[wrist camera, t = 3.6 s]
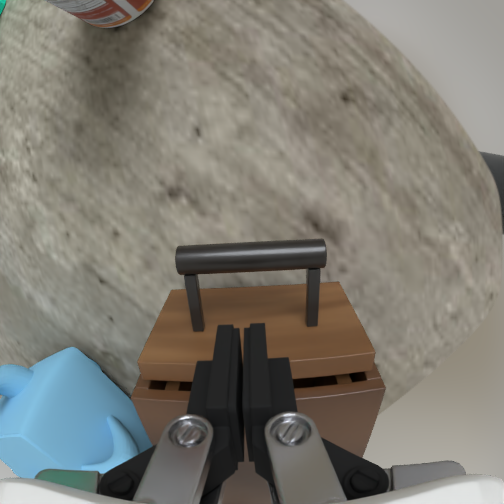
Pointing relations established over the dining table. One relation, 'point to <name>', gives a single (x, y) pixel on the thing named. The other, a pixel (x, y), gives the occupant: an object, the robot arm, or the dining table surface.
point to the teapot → (66, 417)
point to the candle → (2, 5)
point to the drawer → (258, 315)
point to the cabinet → (308, 402)
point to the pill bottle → (104, 10)
